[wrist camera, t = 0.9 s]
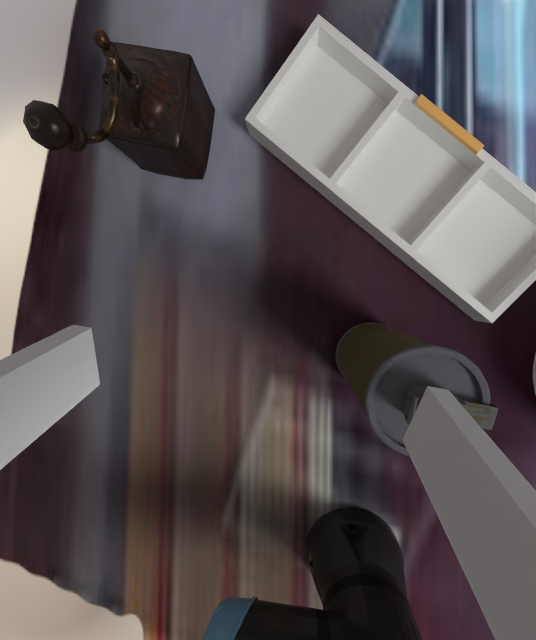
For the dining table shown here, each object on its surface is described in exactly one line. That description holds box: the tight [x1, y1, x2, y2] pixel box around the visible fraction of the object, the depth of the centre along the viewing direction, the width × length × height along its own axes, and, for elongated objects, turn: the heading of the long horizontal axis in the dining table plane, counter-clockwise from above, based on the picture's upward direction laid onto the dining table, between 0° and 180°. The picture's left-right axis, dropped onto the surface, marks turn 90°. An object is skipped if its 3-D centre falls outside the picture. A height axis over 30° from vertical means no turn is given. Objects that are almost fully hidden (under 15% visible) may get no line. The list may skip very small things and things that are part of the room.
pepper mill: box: [23, 29, 215, 179], centre depth 31 cm, size 16×11×18 cm
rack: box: [245, 14, 536, 323], centre depth 35 cm, size 43×15×4 cm, turn 51°
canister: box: [335, 322, 498, 456], centre depth 30 cm, size 11×10×20 cm
